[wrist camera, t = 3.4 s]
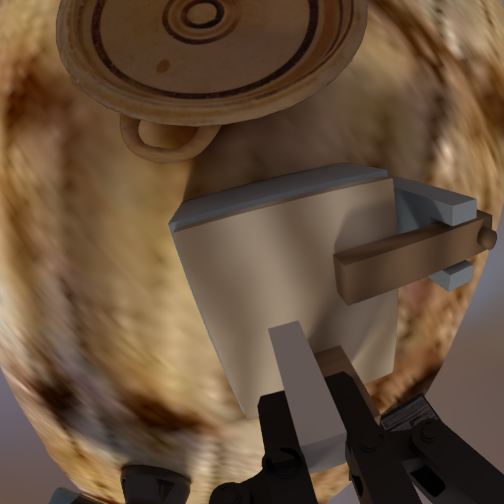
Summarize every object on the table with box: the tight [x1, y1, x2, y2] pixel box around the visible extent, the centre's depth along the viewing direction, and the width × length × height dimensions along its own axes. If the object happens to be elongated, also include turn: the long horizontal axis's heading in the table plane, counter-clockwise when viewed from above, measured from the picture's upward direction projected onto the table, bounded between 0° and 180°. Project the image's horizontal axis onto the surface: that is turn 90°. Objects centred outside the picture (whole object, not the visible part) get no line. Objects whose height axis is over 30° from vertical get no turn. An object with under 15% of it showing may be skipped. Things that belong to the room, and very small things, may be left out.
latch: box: [333, 210, 497, 306], centre depth 18 cm, size 15×3×3 cm, turn 103°
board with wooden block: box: [173, 176, 398, 425], centre depth 18 cm, size 15×19×9 cm
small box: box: [379, 393, 442, 431], centre depth 39 cm, size 11×6×10 cm, turn 114°
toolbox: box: [168, 163, 477, 413], centre depth 24 cm, size 22×20×12 cm
